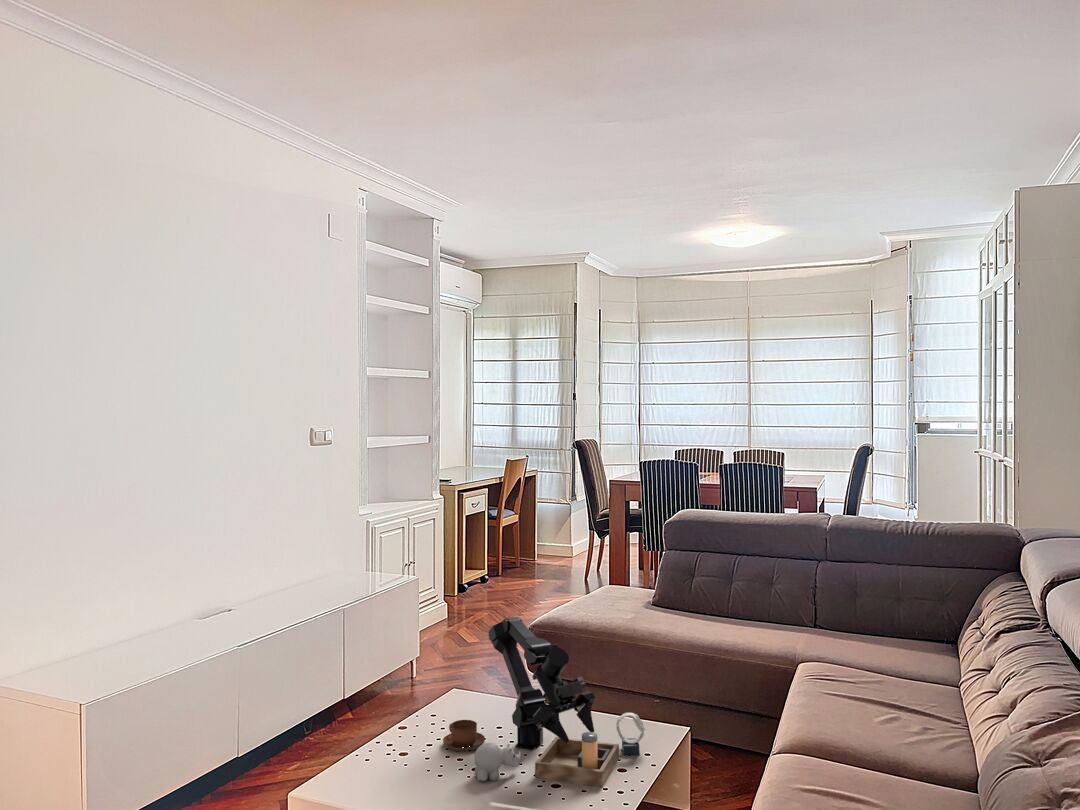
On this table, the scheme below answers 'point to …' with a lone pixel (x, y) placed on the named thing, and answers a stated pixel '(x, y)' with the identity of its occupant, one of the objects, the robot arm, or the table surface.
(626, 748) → the watch
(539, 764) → the walled box
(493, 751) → the chubby cartoon animal
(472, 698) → the table surface
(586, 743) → the grey-capped orange cylinder
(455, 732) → the cup and saucer
